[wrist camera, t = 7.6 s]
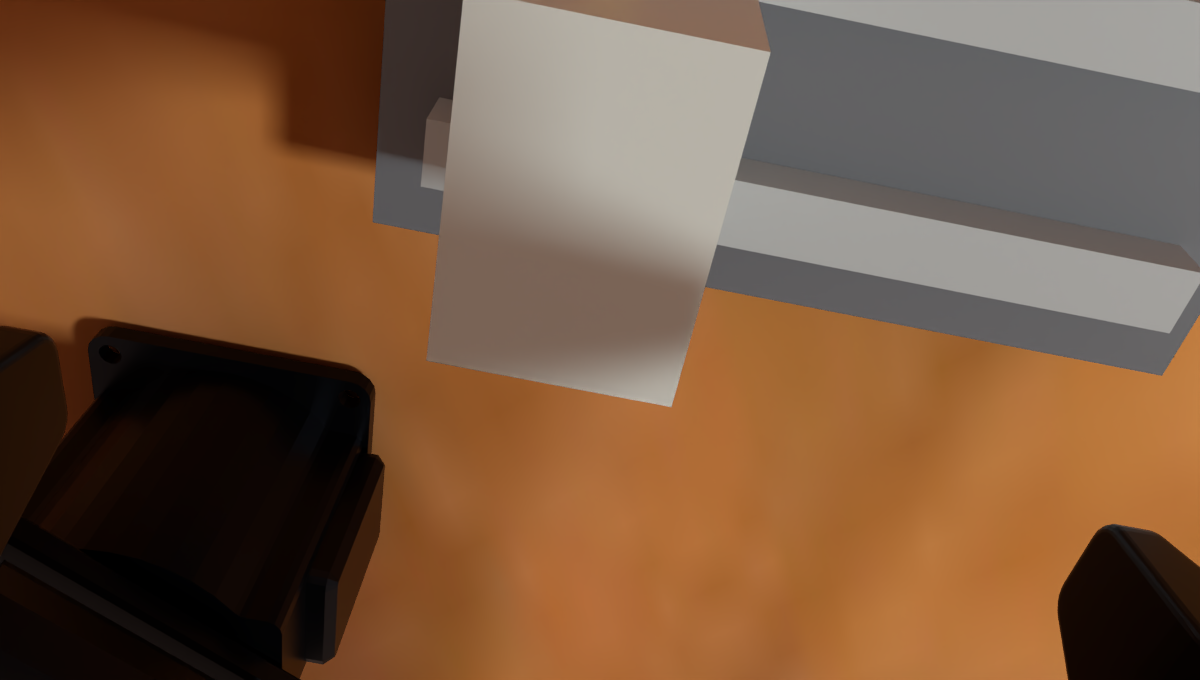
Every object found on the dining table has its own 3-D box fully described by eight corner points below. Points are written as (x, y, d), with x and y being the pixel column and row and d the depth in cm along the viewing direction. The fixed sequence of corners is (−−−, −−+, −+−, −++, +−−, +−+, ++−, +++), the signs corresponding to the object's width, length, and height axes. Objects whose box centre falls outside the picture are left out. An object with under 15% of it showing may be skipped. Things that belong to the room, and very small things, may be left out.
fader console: (404, 166, 20) (357, 247, 17) (440, -293, 16) (384, -290, 13) (1113, 307, 21) (1184, 407, 18) (1339, -99, 16) (1482, -54, 13)
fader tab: (505, 157, 17) (427, 360, 12) (541, -116, 15) (463, -11, 9) (675, 191, 17) (671, 406, 12) (740, -74, 15) (769, 52, 10)
